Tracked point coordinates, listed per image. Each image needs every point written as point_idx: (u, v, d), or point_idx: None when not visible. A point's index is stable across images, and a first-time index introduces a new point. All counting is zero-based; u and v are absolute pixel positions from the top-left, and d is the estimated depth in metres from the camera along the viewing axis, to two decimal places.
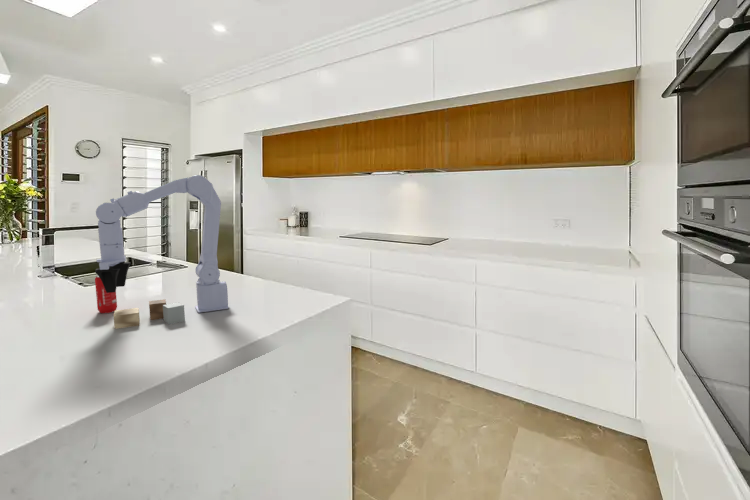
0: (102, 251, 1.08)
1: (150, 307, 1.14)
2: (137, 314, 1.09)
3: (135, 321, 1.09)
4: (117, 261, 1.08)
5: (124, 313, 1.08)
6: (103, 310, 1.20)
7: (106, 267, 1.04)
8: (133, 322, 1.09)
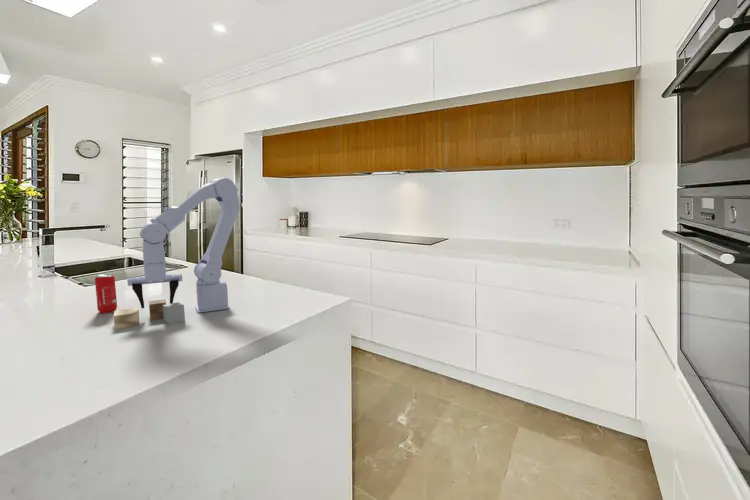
0: None
1: (150, 307, 1.14)
2: (137, 314, 1.09)
3: (136, 321, 1.09)
4: (143, 280, 1.12)
5: (124, 313, 1.08)
6: (103, 310, 1.20)
7: None
8: (134, 322, 1.09)
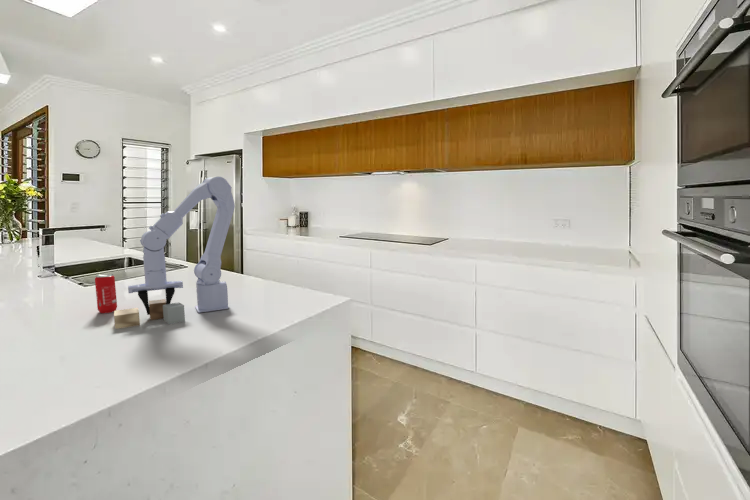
0: None
1: (150, 307, 1.14)
2: (137, 314, 1.09)
3: (136, 320, 1.09)
4: (144, 287, 1.12)
5: (124, 313, 1.08)
6: (103, 310, 1.20)
7: (128, 291, 1.12)
8: (134, 322, 1.09)
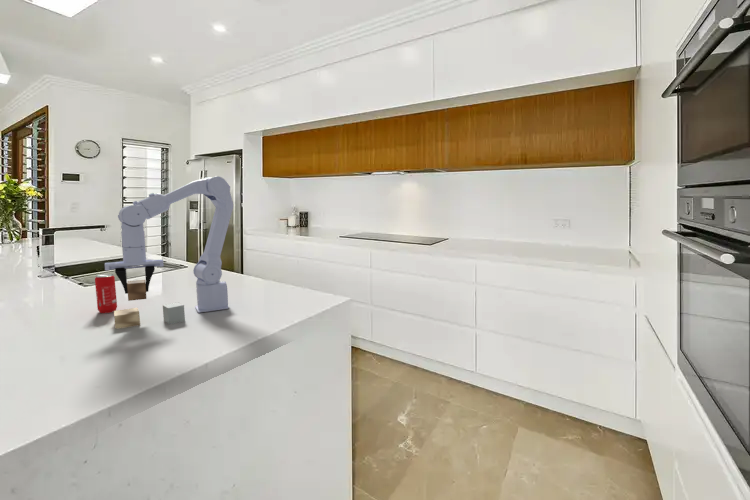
0: None
1: (128, 287, 1.09)
2: (138, 314, 1.09)
3: (136, 320, 1.09)
4: (121, 264, 1.07)
5: (125, 313, 1.08)
6: (103, 310, 1.20)
7: (105, 268, 1.06)
8: (134, 322, 1.09)
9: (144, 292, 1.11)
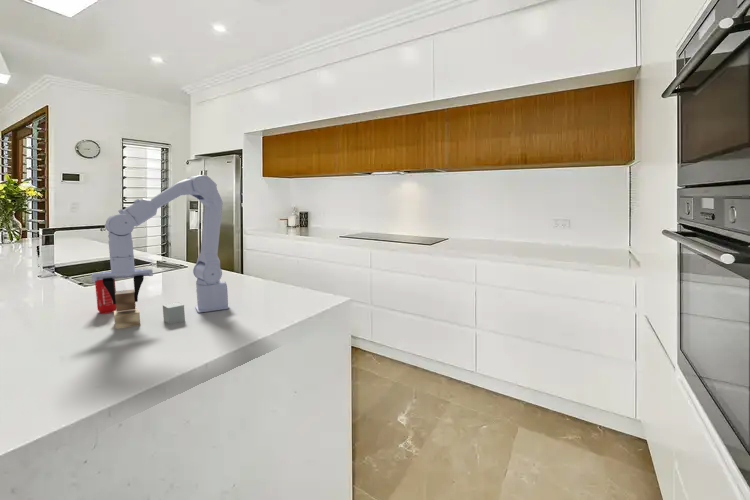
0: None
1: (116, 297, 1.06)
2: (138, 314, 1.09)
3: (136, 320, 1.09)
4: (109, 274, 1.05)
5: (125, 313, 1.08)
6: (103, 310, 1.20)
7: (92, 278, 1.04)
8: (134, 322, 1.09)
9: (133, 302, 1.09)
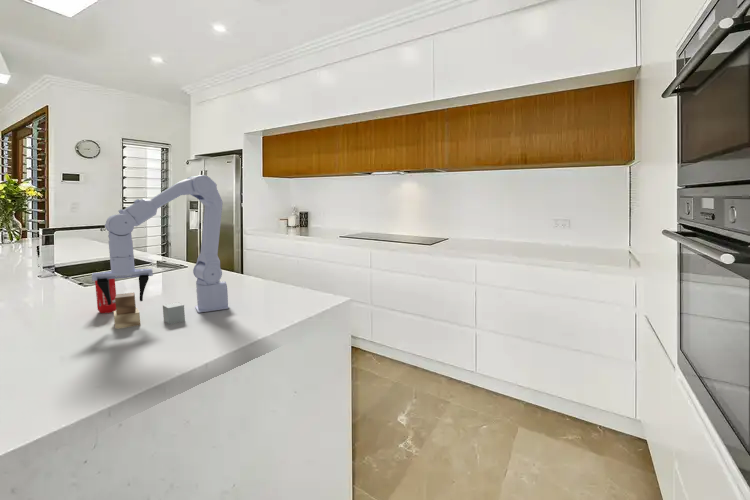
0: None
1: (116, 301, 1.07)
2: (138, 314, 1.09)
3: (136, 320, 1.09)
4: (109, 274, 1.05)
5: None
6: (103, 310, 1.20)
7: (92, 278, 1.04)
8: (135, 322, 1.09)
9: (133, 306, 1.09)
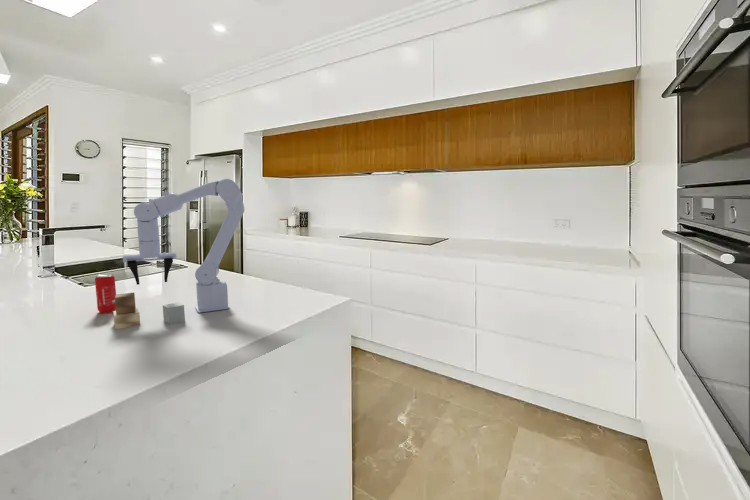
0: None
1: (116, 300, 1.07)
2: (138, 314, 1.09)
3: (136, 320, 1.09)
4: (138, 257, 1.16)
5: None
6: (103, 310, 1.20)
7: (123, 260, 1.15)
8: (134, 322, 1.09)
9: (133, 305, 1.09)
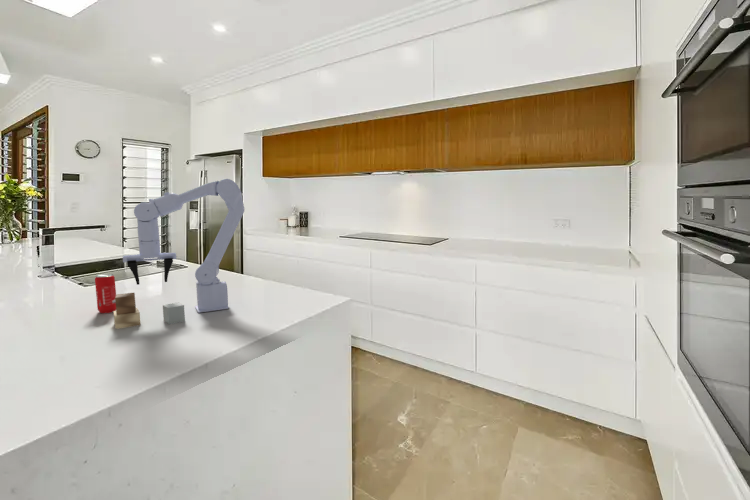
0: None
1: (116, 300, 1.06)
2: (138, 314, 1.09)
3: (137, 320, 1.09)
4: (138, 257, 1.16)
5: None
6: (103, 310, 1.20)
7: (123, 260, 1.15)
8: (135, 322, 1.09)
9: (133, 306, 1.09)
